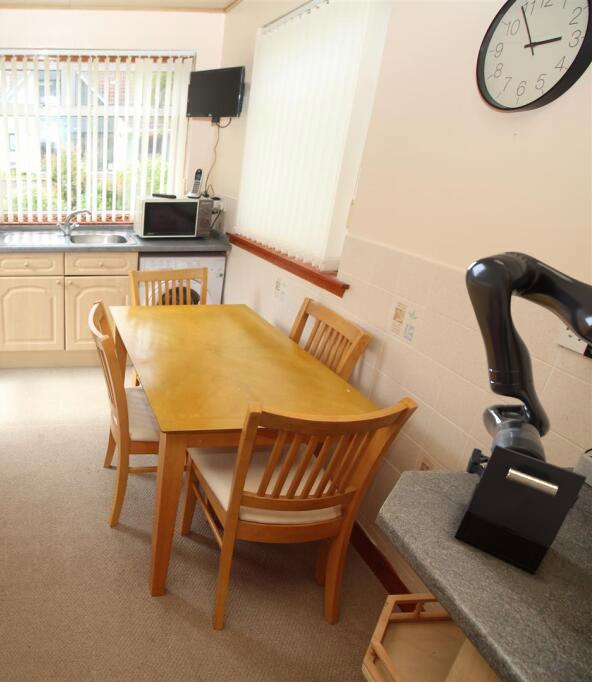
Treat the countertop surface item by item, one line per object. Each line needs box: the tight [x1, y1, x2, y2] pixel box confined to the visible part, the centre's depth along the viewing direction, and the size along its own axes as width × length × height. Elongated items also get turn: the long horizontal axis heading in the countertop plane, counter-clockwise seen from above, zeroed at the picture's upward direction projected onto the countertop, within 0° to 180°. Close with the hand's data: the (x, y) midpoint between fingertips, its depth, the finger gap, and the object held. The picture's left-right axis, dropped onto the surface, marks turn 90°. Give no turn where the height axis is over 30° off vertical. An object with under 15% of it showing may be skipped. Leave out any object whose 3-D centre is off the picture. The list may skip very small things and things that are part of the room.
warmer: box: [454, 482, 550, 576], centre depth 82 cm, size 12×11×6 cm
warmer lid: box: [467, 445, 587, 548], centre depth 74 cm, size 12×11×5 cm
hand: (520, 497), depth 78 cm, fingers open, 8 cm apart
